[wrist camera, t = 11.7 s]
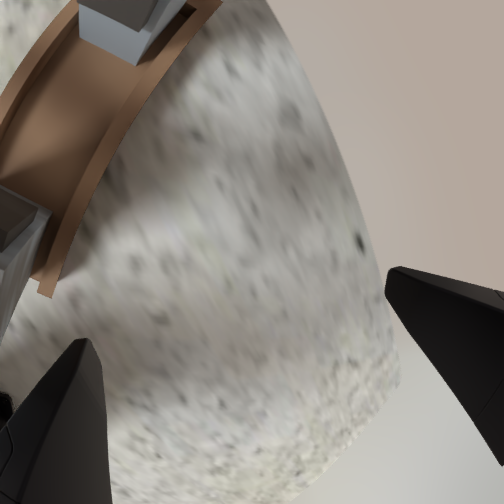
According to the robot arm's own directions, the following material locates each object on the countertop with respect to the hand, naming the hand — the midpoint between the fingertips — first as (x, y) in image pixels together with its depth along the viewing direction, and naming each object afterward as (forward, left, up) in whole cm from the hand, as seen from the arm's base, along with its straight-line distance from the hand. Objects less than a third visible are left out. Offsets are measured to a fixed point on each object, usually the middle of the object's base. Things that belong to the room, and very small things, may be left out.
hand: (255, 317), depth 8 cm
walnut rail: (+6, +7, -12) cm, 15 cm away
